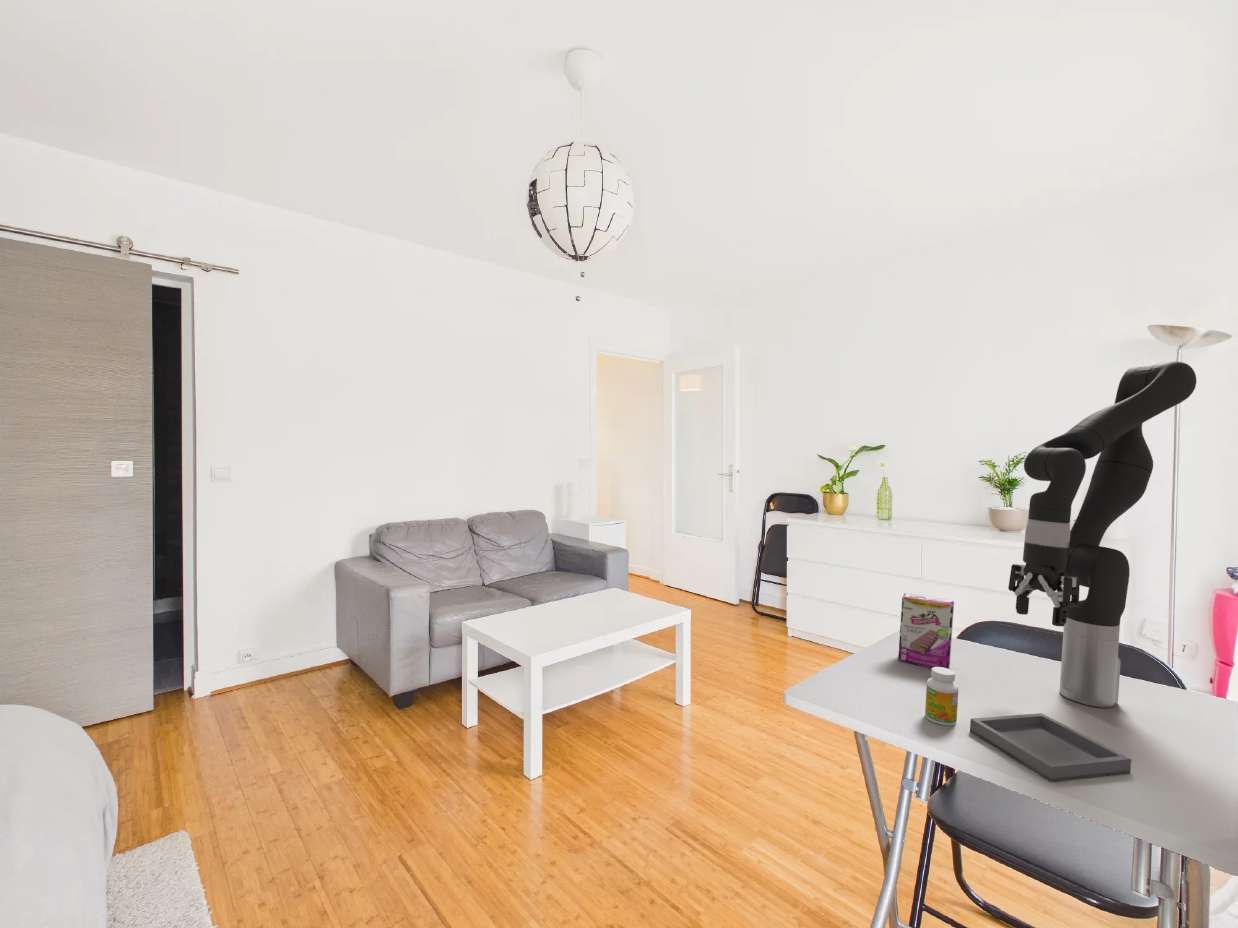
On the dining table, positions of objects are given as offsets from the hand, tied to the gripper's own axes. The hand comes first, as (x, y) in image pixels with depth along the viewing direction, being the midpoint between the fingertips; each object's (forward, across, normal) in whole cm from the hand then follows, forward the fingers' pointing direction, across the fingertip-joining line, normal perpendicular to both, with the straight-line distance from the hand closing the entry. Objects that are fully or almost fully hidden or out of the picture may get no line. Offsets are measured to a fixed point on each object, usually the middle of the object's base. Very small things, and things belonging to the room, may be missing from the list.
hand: (1039, 619), depth 119 cm
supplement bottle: (+20, -5, +25) cm, 32 cm away
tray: (+19, -17, +14) cm, 29 cm away
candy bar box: (+18, +22, +8) cm, 30 cm away
